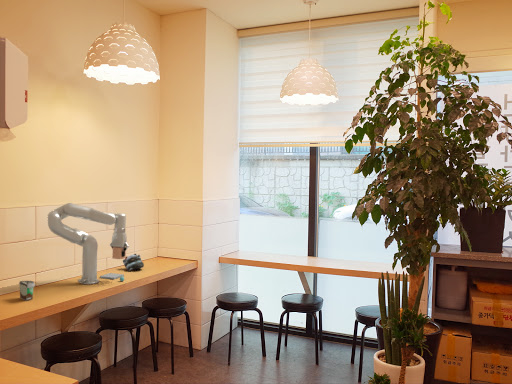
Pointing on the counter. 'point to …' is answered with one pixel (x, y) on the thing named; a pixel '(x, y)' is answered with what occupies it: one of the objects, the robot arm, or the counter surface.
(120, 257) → the peach rectangular block
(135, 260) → the lucky cat figurine
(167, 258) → the counter surface
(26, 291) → the food container
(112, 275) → the slate board
